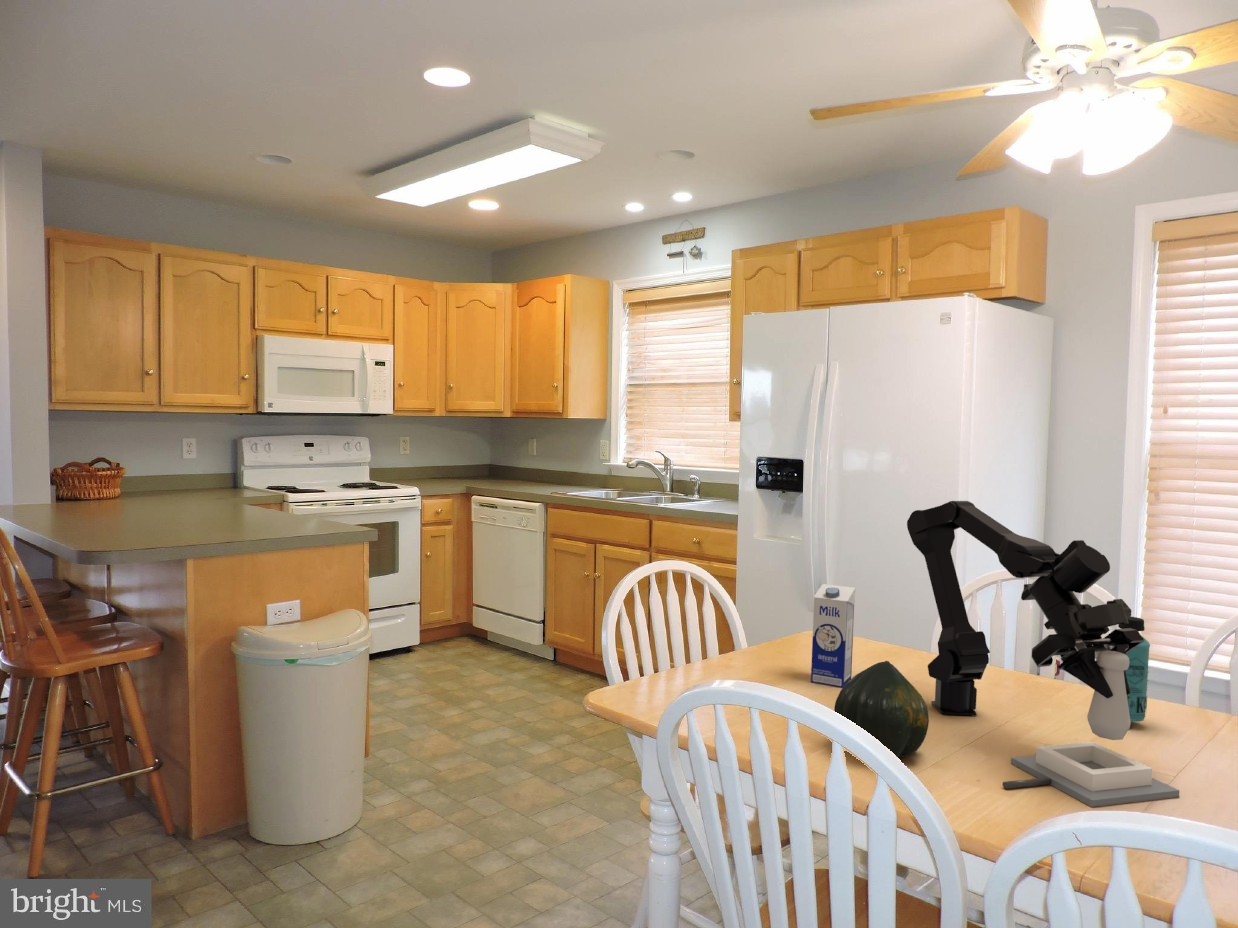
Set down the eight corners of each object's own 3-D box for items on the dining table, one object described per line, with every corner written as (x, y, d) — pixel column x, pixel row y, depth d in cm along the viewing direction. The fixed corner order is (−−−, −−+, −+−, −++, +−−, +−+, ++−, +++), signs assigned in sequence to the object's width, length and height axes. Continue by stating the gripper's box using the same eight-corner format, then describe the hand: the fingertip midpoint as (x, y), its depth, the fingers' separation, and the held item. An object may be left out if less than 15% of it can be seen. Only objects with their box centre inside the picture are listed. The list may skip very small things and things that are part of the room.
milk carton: (852, 680, 179) (856, 586, 179) (843, 688, 174) (847, 591, 173) (819, 674, 183) (822, 582, 182) (809, 682, 177) (813, 587, 176)
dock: (1045, 812, 118) (1046, 787, 118) (968, 767, 134) (969, 745, 133) (1179, 796, 125) (1180, 773, 125) (1091, 755, 140) (1092, 734, 140)
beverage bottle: (1096, 717, 160) (1102, 612, 159) (1130, 717, 160) (1136, 613, 159) (1120, 730, 153) (1126, 620, 152) (1154, 730, 154) (1161, 621, 153)
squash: (862, 739, 129) (914, 661, 133) (804, 712, 143) (852, 641, 147) (915, 791, 134) (964, 713, 138) (853, 759, 147) (899, 690, 151)
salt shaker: (1126, 745, 127) (1133, 659, 126) (1083, 735, 130) (1089, 652, 130) (1131, 734, 132) (1137, 652, 131) (1089, 725, 135) (1095, 645, 134)
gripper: (1051, 583, 130) (1111, 675, 120) (1137, 579, 137) (1200, 665, 127) (1007, 621, 138) (1060, 710, 128) (1091, 615, 145) (1147, 700, 135)
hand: (1119, 695), depth 129 cm, fingers closed on salt shaker, 3 cm apart
